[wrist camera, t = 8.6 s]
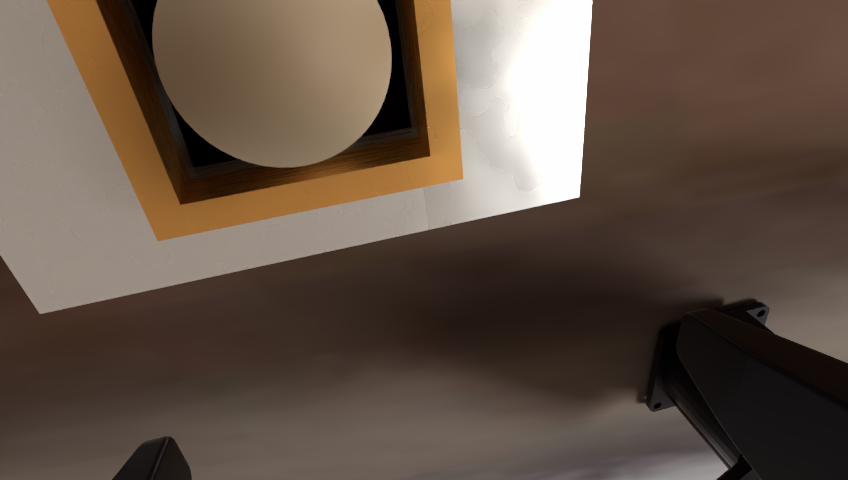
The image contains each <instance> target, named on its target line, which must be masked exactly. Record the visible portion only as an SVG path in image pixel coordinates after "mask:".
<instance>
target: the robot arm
mask: <svg viewBox="0 0 848 480" xmlns="http://www.w3.org/2000/svg"><path fill="white" fill-rule="evenodd" d="M768 313H769V307H767V306H766V305H765V304H764V303H762V302H757V303H753V304H749V305H745V306H741V307H738V308H734V309H730V310H726V311H723V312H717V311H715V310H712V309H709V308H702V309H697V310H693V311H689V312H687V313H685V314H684V316H683V317H682V321H681V323H677V324H673V325H670V326H667V327H665V328H663V329H662V330H661V332H660V334H659V337H658V343H657V348H656V353H655V358H654V363H653V369H652V374H651V379H650V384H649V389H648V395H647V400H646V405H647V406H648V408H649V409H650V410H651V411H653V412H655V411H659V410H662V409H666V408H669V407H673V406H676V407H677V408H678V410H679V411H680V412H681V413H682V414H683V415H684V417H685V418H686V419H687V420H688V421H689V423H690V424H691V425H692V426H693V427H694V429H695V430H696V431H697V432H698V433H699V434H700V436H701V437H702V438H703V439H704V440H705V442H706V443H707V444H708V445H709V446H710V448H711V449H712V450H713V451H714V452H715V454H716V455H717V456H718V457H719V458H720V459H721V461H722V462H723V463H724V464H725V465H726V467H727V468H728V469H729V470H727V471H726V472H725V473H724V474H723V475H721V476H720V477H719V478H718V479H717V480H848V363H846V362H843V361H841V360H838V359H836V358H833V357H831V356H828V355H826V354H823V353H821V352H818V351H816V350H813V349H811V348H808V347H806V346H803V345H800V344H798V343H795V342H793V341H790V340H788V339H785V338H783V337H780V336H778V335H775V334H774V333H773V332H772V331H771V330H769V329H768V328H767V327H766V326H764V325H765V322H766V319H767V316H768ZM112 480H192V477H191V471H190V468H189V465H188V463H187V462H186V460H185V458H184V456H183V454H182V453H181V451H180V449H179V447H178V445H177V443H176V442H175V440H174V439H173V438H172V437H162V438H158V439H154V440H150V441H146V442H144V443H143V444H141V445H140V446H139V447H138V448H137V450H136V451H135V452H134V453H133V455H132V456H131V457H130V458H129V459H128V461H127V462H126V463H125V464H124V466H123V467H122V468H121V469H120V471H119V472H118V473H117V474H116V476H115V477H114V478H113V479H112Z"/></svg>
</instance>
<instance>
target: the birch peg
mask: <svg viewBox="0 0 848 480" xmlns="http://www.w3.org/2000/svg"><path fill="white" fill-rule="evenodd" d="M152 42H153V52H154V58H155V64H156V67H157V70H158V74H159V77H160V80H161V82H162V84H163V87H164V89H165V91H166V93H167V95H168V97H169V99H170V100H171V102H172V104H173V105H174V107H175V109H176V110H177V111H178V112H179V114H180V115H181V116H182V118H183V119H184V120H185V121H186V122H187V123H188V124H189V125H190V127H191V128H192V129H193V130H194V131H195V132H196V133H198V134H199V135H200V136H201V137H202V138H204V139H205V140H206V141H207V142H209V143H210V144H212V145H213V146H215V147H216V148H218V149H220V150H221V151H223V152H225V153H227V154H229V155H231V156H233V157H235V158H238V159H241V160H243V161H246V162H249V163H253V164H257V165H262V166H269V167H278V168H280V167H299V166H306V165H310V164H314V163H318V162H321V161H323V160H326V159H328V158H331V157H333V156H335V155H336V154H338V153H340V152H342V151H344V150H345V149H346V148H348V147H349V146H350V145H352V144H353V143H354V142H355V141H356V140H358V139H359V138H360V137H361V136H362V135H363V134H364V132H365V131H366V130H367V129H368V128H369V126H370V125H371V124H372V122H373V121H374V119H375V118H376V116H377V114H378V113H379V111H380V108H381V106H382V104H383V102H384V100H385V96H386V93H387V90H388V87H389V81H390V76H391V63H392V55H391V42H390V37H389V32H388V27H387V24H386V21H385V18H384V15H383V12H382V10H381V8H380V6H379V4H378V1H377V0H157V4H156V8H155V12H154V18H153V27H152Z"/></svg>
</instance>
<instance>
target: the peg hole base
mask: <svg viewBox="0 0 848 480" xmlns="http://www.w3.org/2000/svg"><path fill="white" fill-rule="evenodd" d="M395 3H396V12H397V20H398V28H399V36H400V44H401V52H402V60H403V68H404V76H405V84H406V92H407V100H408V108H409V116H410V124H411V127H410V128H405V129H399V130H394V131H389V132H383V133H378V134H372V135H367V136H362V137H360V138H359V139H358V140H356V141H355V142H354V143H353V144H352V145H350V146H349V147H348V148H346V149H345V150H344V151H342V152H340V153H338V154H336V155H335V156H333V157H331V158H328V159H326V160H323V161H321V162H318V163H314V164H310V165H306V166H299V167H280V168H278V167H269V166H262V165H257V164H253V163H249V162H246V161H243V160H241V159H238V160H232V161H227V162H221V163H216V164H211V165H205V166H200V167H194V164H193V161H192V159H191V156H190V153H189V151H188V148H187V145H186V143H185V140H184V138H183V135H182V132H181V130H180V127H179V124H178V122H177V119H176V116H175V114H174V111H173V109H172V106H171V103H170V101H169V98H168V95H167V93H166V91H165V89H164V87H163V84H162V82H161V80H160V77H159V74H158V70H157V67H156V64H155V61H154V58H153V56H152V53H151V50H150V48H149V45H148V42H147V40H146V37H145V35H144V32H143V29H142V27H141V24H140V21H139V19H138V16H137V13H136V11H135V8H134V5H133V3H132V0H0V255H1V257H2V258H3V260H4V261H5V263H6V264H7V266H8V267H9V269H10V270H11V272H12V273H13V275H14V276H15V278H16V279H17V281H18V282H19V284H20V285H21V287H22V288H23V290H24V291H25V293H26V294H27V296H28V297H29V299H30V300H31V302H32V303H33V304H34V306H35V307H36V309H37V310H38V312H39V313H40V314H43V313H47V312H52V311H57V310H61V309H66V308H70V307H75V306H80V305H84V304H89V303H93V302H98V301H103V300H107V299H112V298H117V297H121V296H126V295H130V294H135V293H140V292H144V291H149V290H153V289H158V288H163V287H167V286H172V285H176V284H181V283H186V282H190V281H195V280H200V279H204V278H209V277H213V276H218V275H223V274H227V273H232V272H236V271H241V270H246V269H250V268H255V267H259V266H264V265H269V264H273V263H278V262H283V261H287V260H292V259H296V258H301V257H306V256H310V255H315V254H319V253H324V252H329V251H333V250H338V249H342V248H347V247H352V246H356V245H361V244H366V243H370V242H375V241H379V240H384V239H389V238H393V237H398V236H402V235H407V234H412V233H416V232H421V231H425V230H430V229H435V228H439V227H444V226H449V225H453V224H458V223H462V222H467V221H472V220H476V219H481V218H485V217H490V216H495V215H499V214H504V213H508V212H513V211H518V210H522V209H527V208H531V207H536V206H541V205H545V204H550V203H555V202H559V201H564V200H568V199H573V198H578V197H579V195H580V180H581V165H582V150H583V134H584V119H585V104H586V89H587V74H588V59H589V44H590V28H591V13H592V0H395Z"/></svg>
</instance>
